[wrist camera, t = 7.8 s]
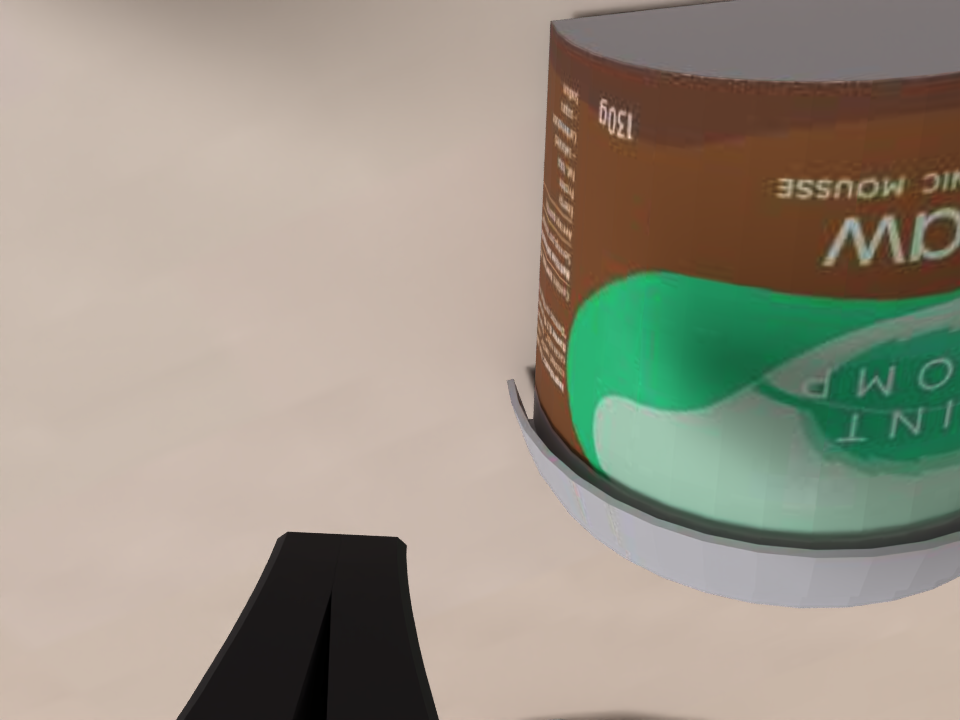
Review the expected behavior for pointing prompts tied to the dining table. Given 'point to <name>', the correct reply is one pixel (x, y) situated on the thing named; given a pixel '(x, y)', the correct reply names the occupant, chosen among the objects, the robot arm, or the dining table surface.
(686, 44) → the food container
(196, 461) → the dining table surface
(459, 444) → the dining table surface
